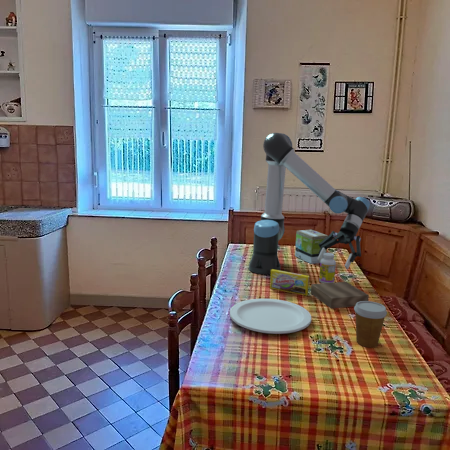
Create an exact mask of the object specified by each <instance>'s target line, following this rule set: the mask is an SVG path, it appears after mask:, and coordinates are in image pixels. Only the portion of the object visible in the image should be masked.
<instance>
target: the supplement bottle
mask: <svg viewBox="0 0 450 450" xmlns="http://www.w3.org/2000/svg"><path fill="white" fill-rule="evenodd" d="M323 257H324V258H323V259H321V261H320V263H319V264H320V265H319V274H318V275H319V276H318V281H319V283H320V284H321V283H335V277H336V265H337V264H336V262H337V261H336V260H335V259H334V258H335V254H334V253H332V252H327V253H324V254H323Z"/></svg>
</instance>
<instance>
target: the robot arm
mask: <svg viewBox="0 0 450 450" xmlns="http://www.w3.org/2000/svg"><path fill="white" fill-rule="evenodd" d="M262 145H263V150H264V153H265V162H266V163H267V178H266V188H265V189H266V190H265V203H264V212H262V214H261V215H260V220H258V221H256V222H255V223H254V227H253V244H252V245H253V246H252V247H253V250H252V255H251V259H250V260H249V264H248V271H250V272H252V273H255V274H260V275H271V270H272V269H274V270H280V271H281V264H280V260H279V255H278V253H279V252H278V251H279V241H280V240H281V239H282V238H283V236H284V234H285V229H286V228H285V216H284V215H283V214H282V213H283V203H284V202H283V201H284V193H285V192H284V190H285V183H286V181H285V180H286V169H287V170H288V171H289V172H290V173H292V175H293V176H294V177H296V179H298V180H299V181H300V182H301V183H302V184H303V185H305V187H307V188H308V189H309V190H310V191H311V192H312V193H313V194H315V195H316V196H317V198H319V199H320V200H321V201H323V203H324V204H326V206H328V208H329V209H330V211H331V212H333V213H334V214H342V213H345V214H347V215H346V217H345V218H344V221H343V223H342V224H341V227H340V229H339V231H338V232H335V230H332V231H331V232H330V234H329V235H328V237H327V238H325V239H324V240H323V241H322V242H320V243H319V244H318V245H319V247H320V248H321V249H320V251H319V256H318V258H317V260H318V262H320V261H321V259H322V258H323V254H324V253H326V249H327V250H328V249H329V248H331V247H333V246H335V245H336V244H343V245H348V246H349V248H350V251H351V253H350V254H349V255H348V257H347V260H346V262H345V264H344V267H345V269H346V270H349V268H350V266H351V264H352V263H354V262H355V259H356V258H357V257H359V258H360V257H362V250H361V249H362V248H361V241H362V238H361V237H360V235H357V233H358V232H359V230H360V228H361V226H362V224H363V223H364V219H365V218H366V216H367V214H368V212H369V209H370V206H371V203H370V201H369V200H368V199H367V198H366V197H362V196H357V197H356V198H353V197H351V196H349V195H347V194H345V193H343V192H341V191H340V190H337V189H336V188H334V186H333V185H331V184H330V183H329V182H328V181H327V180H325V178H323V176H321V175H320V174H319V173H318V172H317V171H316V170H314V169H313V168H312V167H311V165H309V164H308V163H307V162H306V161H305V160H304V159H302V158H301V157H300V156H299V155H298V154H297V153H296V152H295V148H294V147H293V142H292V140H291V138H290V137H289V136H288V135H287V134H285V133H281V132H273V133H270V134H268V135H267V136H266V137H265V139H264V141H263V144H262ZM353 241H355V246H356V247H355V248H356V249H355V248H354V246H353V243H352V242H353Z"/></svg>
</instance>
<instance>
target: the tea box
mask: <svg viewBox="0 0 450 450" xmlns="http://www.w3.org/2000/svg"><path fill="white" fill-rule="evenodd" d="M328 236H329V235H327V234H324V233H322V232H319V231H316V230H314V229H305V230H304V229H303V230H296V234H295V247H294V248H295V251H294V257H297V258H299V259H300V260H302V261H305V262H307V263H309V264H311V265H312V264H313V265H314V264H320V262H318V260H317V258H318V256H319V251H320V249H321V248H320V247H319V245H318V244H319V243H320V242H322V241H323V240H324V239H325V238H327V237H328ZM326 253H328V249H326ZM323 258H324V257H323ZM323 258H322V259H323Z"/></svg>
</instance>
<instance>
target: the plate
mask: <svg viewBox="0 0 450 450" xmlns="http://www.w3.org/2000/svg"><path fill="white" fill-rule="evenodd" d="M229 316H230V319H231V320H232V321H233V322H234V324H236V325H238V326H240V327H242V328H245V329H247V330H250V331H254V332H258V333H263V334H279V335H280V334H281V335H282V334H283V335H284V334H290V333H296V332H300V331H302V330H304V329H306V328H307V327H309V326H310V324H311V323H312V315H311V313H310V312H309V310H308V309H306V308H305V307H303V306H301V305H299V304H296V303H294V302H290V301H287V300H282V299H276V298H252V299H245V300H242V301H239V302H237V303H235V304H234V305H233V306H232V307H231V308H230V310H229Z"/></svg>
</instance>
